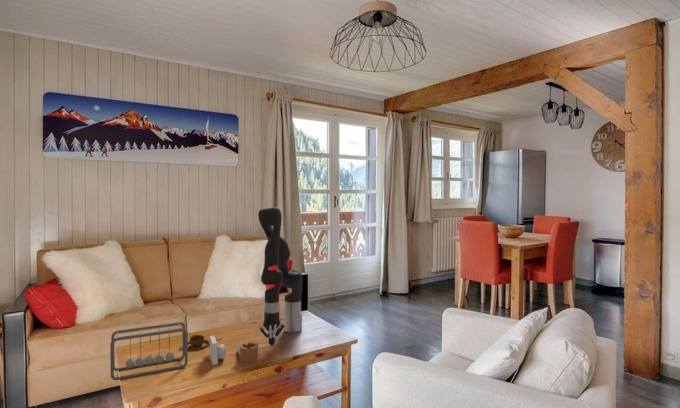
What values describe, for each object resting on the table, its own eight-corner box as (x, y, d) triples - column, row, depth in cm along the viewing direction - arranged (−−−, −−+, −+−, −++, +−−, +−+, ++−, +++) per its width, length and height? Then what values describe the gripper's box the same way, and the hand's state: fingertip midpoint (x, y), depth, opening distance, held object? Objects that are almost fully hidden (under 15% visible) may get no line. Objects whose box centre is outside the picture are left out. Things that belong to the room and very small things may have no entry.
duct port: (222, 354, 192) (222, 334, 191) (225, 363, 183) (225, 341, 182) (209, 356, 189) (209, 336, 189) (212, 365, 180) (212, 343, 180)
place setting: (215, 340, 211) (215, 329, 210) (215, 356, 192) (215, 344, 191) (180, 344, 205) (180, 333, 205) (176, 360, 186) (176, 348, 186)
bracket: (259, 362, 184) (259, 347, 184) (240, 364, 181) (240, 349, 181) (253, 347, 201) (253, 334, 201) (237, 349, 198) (237, 336, 198)
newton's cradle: (185, 358, 187) (184, 321, 186) (187, 367, 178) (187, 328, 177) (111, 371, 173) (111, 331, 173) (110, 381, 164) (110, 339, 163)
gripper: (282, 306, 202) (282, 340, 203) (256, 309, 197) (256, 344, 197) (287, 310, 196) (286, 345, 196) (260, 314, 190) (260, 349, 191)
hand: (271, 344), depth 197 cm, fingers closed
